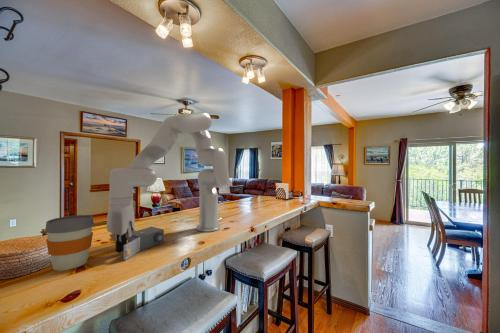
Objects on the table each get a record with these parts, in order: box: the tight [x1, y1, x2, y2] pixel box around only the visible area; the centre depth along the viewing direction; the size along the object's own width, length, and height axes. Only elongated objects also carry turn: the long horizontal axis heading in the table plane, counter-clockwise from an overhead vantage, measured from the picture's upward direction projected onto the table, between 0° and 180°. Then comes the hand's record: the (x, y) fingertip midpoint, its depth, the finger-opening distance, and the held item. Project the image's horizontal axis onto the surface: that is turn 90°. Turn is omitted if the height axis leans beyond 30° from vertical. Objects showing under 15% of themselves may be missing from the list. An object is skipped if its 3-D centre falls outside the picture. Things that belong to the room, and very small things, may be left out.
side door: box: [123, 237, 141, 261], centre depth 80 cm, size 1×9×5 cm, turn 175°
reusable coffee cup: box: [44, 214, 95, 271], centre depth 73 cm, size 13×13×15 cm
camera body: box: [127, 226, 165, 252], centre depth 91 cm, size 11×10×6 cm
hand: (121, 250), depth 81 cm, fingers closed
